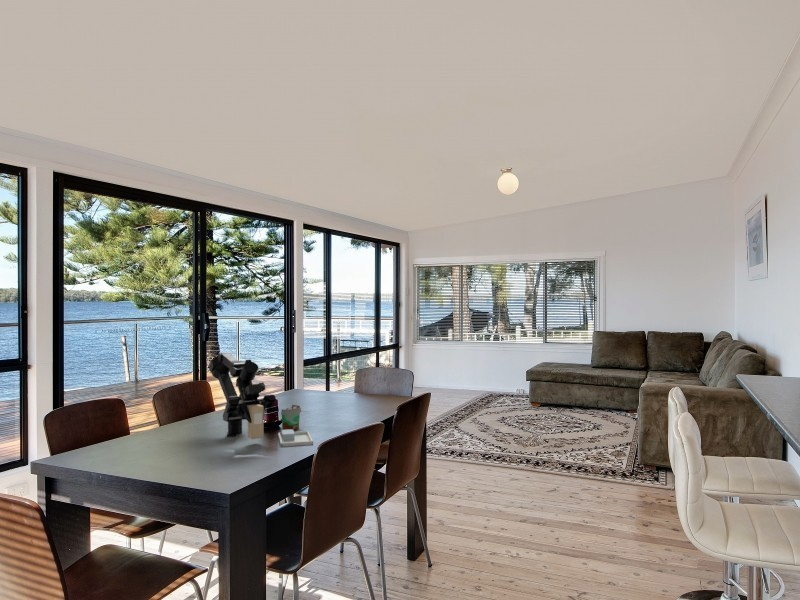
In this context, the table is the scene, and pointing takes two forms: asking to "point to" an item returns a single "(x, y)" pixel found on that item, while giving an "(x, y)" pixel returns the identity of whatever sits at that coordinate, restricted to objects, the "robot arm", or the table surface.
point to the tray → (297, 439)
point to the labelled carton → (256, 421)
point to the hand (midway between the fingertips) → (256, 421)
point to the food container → (291, 418)
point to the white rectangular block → (288, 435)
